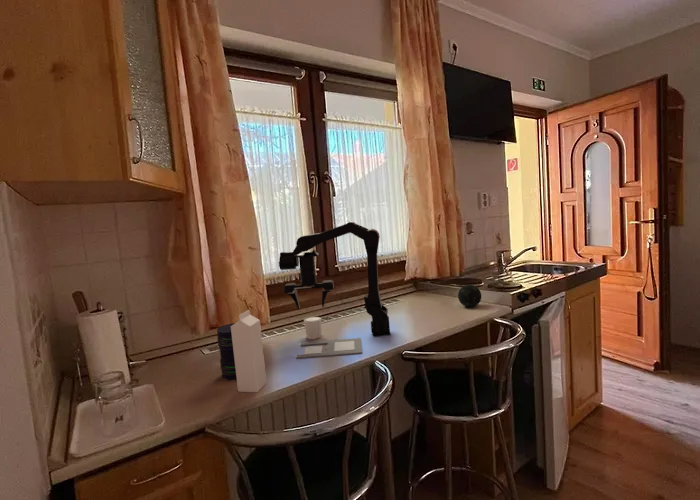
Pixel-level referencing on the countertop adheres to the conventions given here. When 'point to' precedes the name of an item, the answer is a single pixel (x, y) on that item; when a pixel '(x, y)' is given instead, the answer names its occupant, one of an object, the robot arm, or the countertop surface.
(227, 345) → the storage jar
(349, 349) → the label board
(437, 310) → the countertop surface
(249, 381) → the milk
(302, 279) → the robot arm
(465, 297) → the decorative stone
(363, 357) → the countertop surface
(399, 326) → the countertop surface
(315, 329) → the shot glass
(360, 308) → the countertop surface
